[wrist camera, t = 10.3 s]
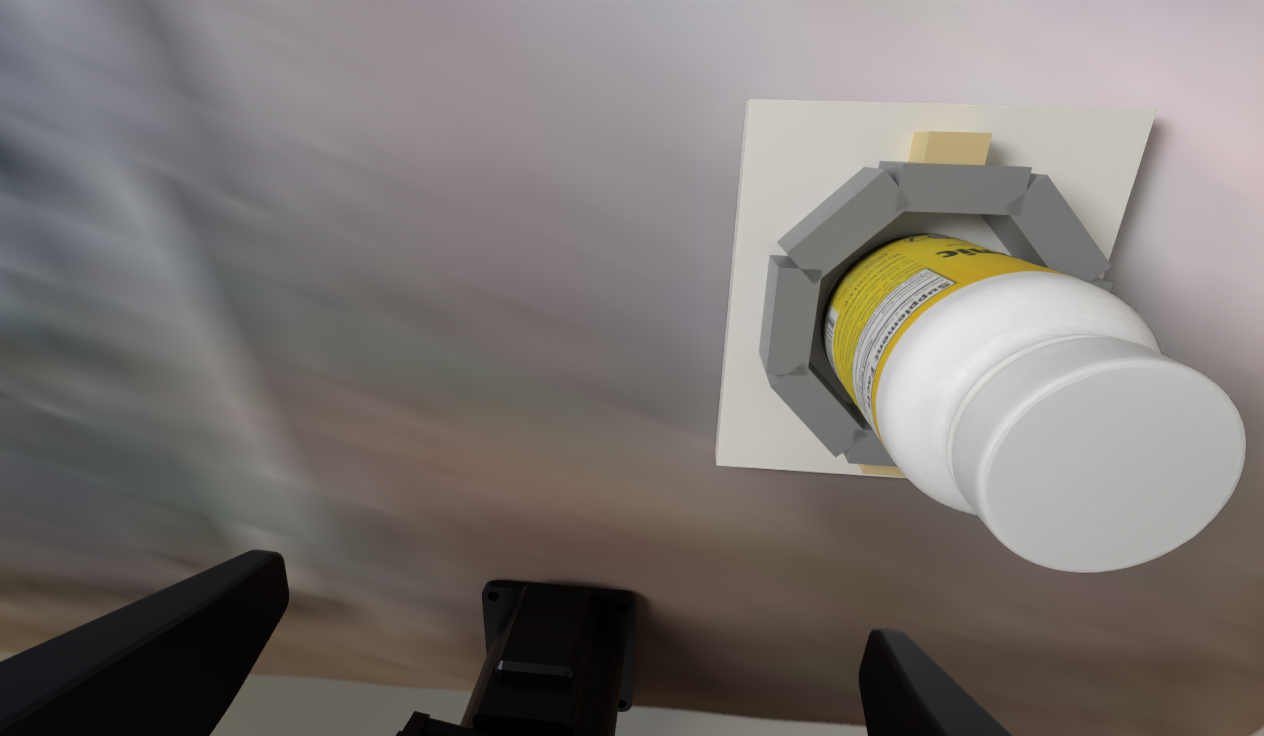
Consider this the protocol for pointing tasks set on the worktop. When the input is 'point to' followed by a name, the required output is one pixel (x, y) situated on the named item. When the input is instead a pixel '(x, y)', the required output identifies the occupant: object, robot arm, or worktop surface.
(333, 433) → the worktop surface
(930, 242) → the supplement bottle
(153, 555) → the worktop surface
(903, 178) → the socket base
